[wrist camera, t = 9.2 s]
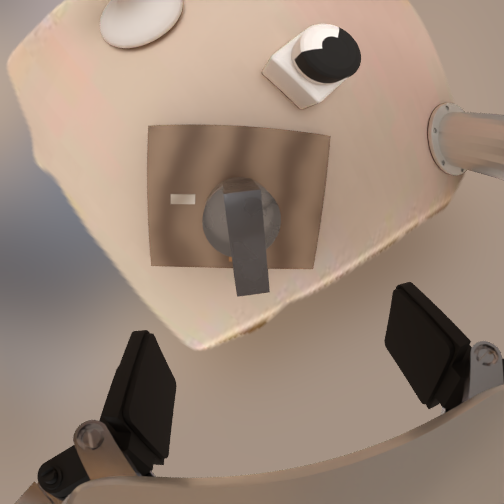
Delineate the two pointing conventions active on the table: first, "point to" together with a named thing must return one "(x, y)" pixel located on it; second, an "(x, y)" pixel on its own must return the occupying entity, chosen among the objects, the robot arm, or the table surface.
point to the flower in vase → (138, 21)
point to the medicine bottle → (313, 64)
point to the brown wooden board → (225, 167)
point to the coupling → (243, 229)
